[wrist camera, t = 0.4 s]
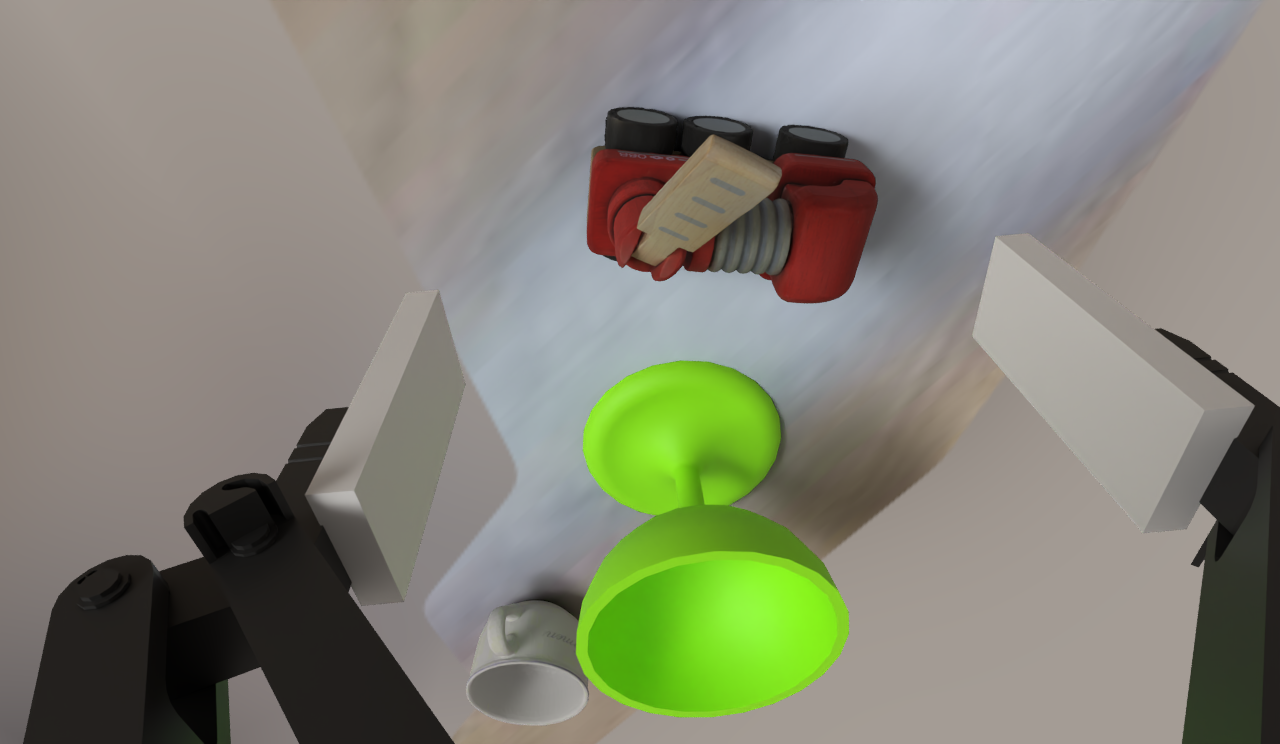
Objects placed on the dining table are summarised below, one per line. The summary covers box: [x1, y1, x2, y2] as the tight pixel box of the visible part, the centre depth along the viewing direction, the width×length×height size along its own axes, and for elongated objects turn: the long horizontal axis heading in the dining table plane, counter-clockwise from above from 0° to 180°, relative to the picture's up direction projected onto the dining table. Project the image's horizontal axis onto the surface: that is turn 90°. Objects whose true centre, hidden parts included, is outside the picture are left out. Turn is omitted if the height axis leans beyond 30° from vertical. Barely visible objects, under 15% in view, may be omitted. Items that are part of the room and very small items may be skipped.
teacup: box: [466, 600, 589, 726], centre depth 62 cm, size 14×11×8 cm
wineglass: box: [576, 361, 849, 717], centre depth 47 cm, size 16×16×18 cm
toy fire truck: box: [587, 107, 878, 303], centre depth 34 cm, size 11×16×18 cm
